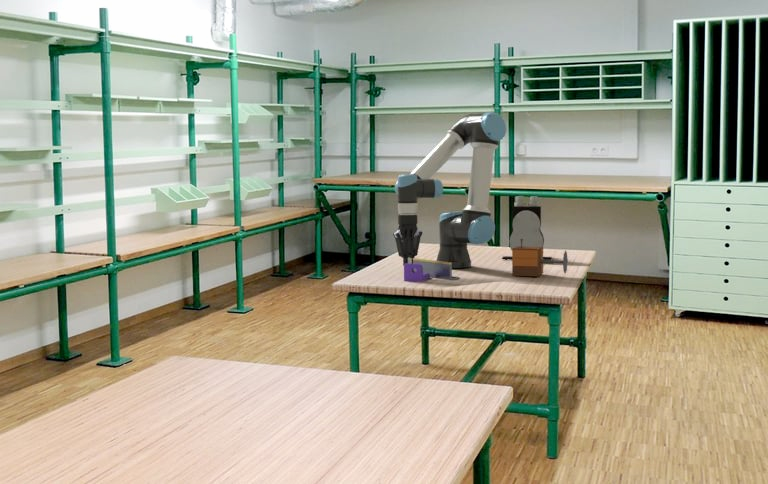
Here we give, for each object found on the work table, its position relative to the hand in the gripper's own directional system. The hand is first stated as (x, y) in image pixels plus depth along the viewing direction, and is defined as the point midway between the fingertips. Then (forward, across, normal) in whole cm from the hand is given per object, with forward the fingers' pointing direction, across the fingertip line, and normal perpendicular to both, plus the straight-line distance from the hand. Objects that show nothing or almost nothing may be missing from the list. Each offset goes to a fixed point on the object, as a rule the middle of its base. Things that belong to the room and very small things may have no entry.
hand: (408, 274), depth 335 cm
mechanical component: (+2, -78, -13) cm, 79 cm away
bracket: (+2, 0, +5) cm, 6 cm away
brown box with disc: (+2, -47, +25) cm, 53 cm away
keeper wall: (+1, -9, +3) cm, 10 cm away
